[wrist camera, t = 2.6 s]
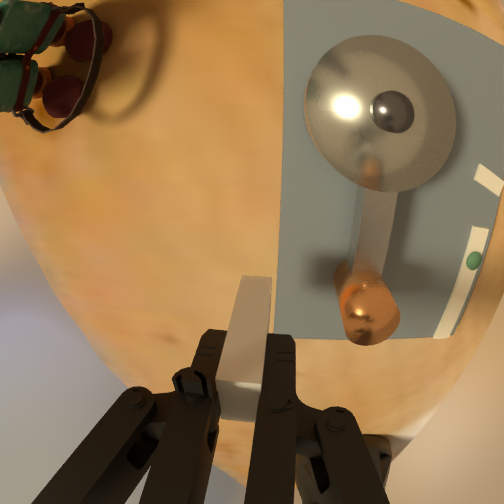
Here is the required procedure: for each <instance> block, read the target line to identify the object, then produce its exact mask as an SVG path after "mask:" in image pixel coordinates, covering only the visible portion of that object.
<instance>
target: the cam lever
mask: <svg viewBox="0 0 504 504" xmlns="http://www.w3.org/2000/svg"><path fill="white" fill-rule="evenodd" d="M303 117H304V122H305V126H306V129H307V132H308V134H309V136H310V139H311V141H312V143H313V144H314V146H315V147H316V149H317V150H318V152H319V153H320V154H321V155H322V157H323V158H324V159H325V160H326V161H327V162H328V163H329V164H330V165H331V166H332V167H333V168H334V169H335V170H337V171H338V172H339V173H340V174H341V175H343V176H344V177H345V178H347V179H348V180H350V181H352V182H353V183H355V184H357V190H356V199H355V207H354V215H353V223H352V230H351V236H350V243H349V249H348V255H347V259H346V260H344V261H343V262H342V263H340V264H339V266H338V267H337V268H336V270H335V272H334V275H333V283H334V288H335V292H336V296H337V300H338V304H339V308H340V312H341V317H342V321H343V326H344V330H345V334H346V336H347V338H348V339H349V340H350V341H351V342H353V343H355V344H358V345H363V346H368V345H374V344H377V343H380V342H382V341H384V340H386V339H387V338H389V337H390V336H391V335H392V334H393V333H394V332H395V331H396V329H397V327H398V325H399V323H400V318H401V317H400V311H399V309H398V307H397V305H396V303H395V301H394V299H393V297H392V295H391V293H390V291H389V289H388V287H387V285H386V283H385V281H384V279H383V277H382V272H383V268H384V263H385V259H386V254H387V250H388V245H389V240H390V235H391V230H392V225H393V219H394V214H395V208H396V201H397V195H398V192H402V191H406V190H410V189H413V188H415V187H418V186H420V185H422V184H423V183H425V182H427V181H428V180H429V179H431V178H432V177H433V176H434V175H435V174H436V173H437V172H438V171H439V170H440V169H441V167H442V166H443V165H444V163H445V162H446V160H447V158H448V156H449V154H450V151H451V149H452V146H453V142H454V138H455V131H456V115H455V107H454V103H453V99H452V96H451V93H450V90H449V88H448V86H447V84H446V82H445V80H444V78H443V77H442V75H441V74H440V72H439V71H438V69H437V68H436V67H435V66H434V65H433V63H432V62H431V61H430V60H429V59H428V58H427V57H426V56H424V55H423V54H422V53H421V52H419V51H418V50H417V49H415V48H414V47H412V46H410V45H409V44H407V43H404V42H402V41H400V40H397V39H394V38H391V37H387V36H381V35H362V36H356V37H352V38H349V39H347V40H344V41H342V42H340V43H338V44H337V45H335V46H334V47H332V48H331V49H330V50H329V51H327V52H326V53H325V54H324V55H323V57H322V58H321V59H320V60H319V62H318V63H317V65H316V66H315V68H314V70H313V72H312V73H311V75H310V77H309V79H308V81H307V84H306V86H305V90H304V95H303Z"/></svg>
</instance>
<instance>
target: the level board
mask: <svg viewBox="0 0 504 504" xmlns="http://www.w3.org/2000/svg"><path fill="white" fill-rule="evenodd" d="M362 35H381V36H387V37H391V38H394V39H397V40H400V41H402V42H404V43H407V44H409V45H410V46H412V47H414V48H415V49H417V50H418V51H419V52H421V53H422V54H423V55H424V56H426V57H427V58H428V59H429V60H430V61H431V62H432V63H433V65H434V66H435V67H436V68H437V69H438V71H439V72H440V74H441V75H442V77H443V78H444V80H445V82H446V84H447V86H448V88H449V90H450V93H451V96H452V99H453V103H454V107H455V115H456V131H455V138H454V142H453V146H452V149H451V151H450V154H449V156H448V158H447V160H446V162H445V163H444V165H443V166H442V167H441V169H440V170H439V171H438V172H437V173H436V174H435V175H434V176H433V177H432V178H431V179H429V180H428V181H427V182H425V183H423V184H422V185H420V186H418V187H415V188H413V189H410V190H406V191H402V192H398V195H397V201H396V208H395V214H394V219H393V225H392V230H391V235H390V240H389V245H388V250H387V254H386V259H385V263H384V268H383V272H382V277H383V279H384V281H385V283H386V285H387V287H388V289H389V291H390V293H391V295H392V297H393V299H394V301H395V303H396V305H397V307H398V309H399V311H400V317H401V318H400V323H399V325H398V327H397V329H396V331H395V332H394V333H393V334H392V335H391V336H390V337H389V338H387V339H405V338H423V337H433V338H434V339H442V338H449V336H450V335H453V334H454V332H455V330H456V328H457V326H458V324H459V322H460V319H461V317H462V315H463V313H464V310H465V308H466V306H467V303H468V301H469V299H470V296H471V294H472V291H473V289H474V286H475V283H476V281H477V278H478V275H479V272H480V270H481V267H482V264H483V261H484V258H485V254H486V251H487V248H488V245H489V241H490V238H491V234H492V230H493V226H494V222H495V218H496V214H497V209H498V205H499V200H500V195H501V191H502V188H503V185H504V181H503V177H504V46H503V45H501V44H499V43H497V42H496V41H494V40H492V39H490V38H488V37H487V36H485V35H483V34H481V33H479V32H477V31H475V30H473V29H471V28H469V27H467V26H465V25H462V24H460V23H458V22H456V21H453V20H451V19H449V18H446V17H444V16H441V15H439V14H436V13H434V12H431V11H428V10H425V9H423V8H420V7H417V6H414V5H410V4H407V3H404V2H400V1H397V0H284V114H283V156H282V186H281V211H280V233H279V253H278V271H277V288H276V304H275V319H274V333H273V334H290V335H291V336H292V338H296V339H329V340H349V339H348V338H347V336H346V334H345V330H344V326H343V321H342V317H341V312H340V308H339V304H338V300H337V296H336V292H335V288H334V283H333V275H334V272H335V270H336V268H337V267H338V266H339V264H340V263H342V262H343V261H344V260H346V259H347V255H348V249H349V243H350V236H351V230H352V223H353V215H354V207H355V199H356V190H357V184H355V183H353V182H352V181H350V180H348V179H347V178H345V177H344V176H343V175H341V174H340V173H339V172H338V171H337V170H335V169H334V168H333V167H332V166H331V165H330V164H329V163H328V162H327V161H326V160H325V159H324V158H323V157H322V155H321V154H320V153H319V152H318V150H317V149H316V147H315V146H314V144H313V143H312V141H311V139H310V136H309V134H308V132H307V129H306V126H305V122H304V117H303V95H304V90H305V86H306V84H307V81H308V79H309V77H310V75H311V73H312V72H313V70H314V68H315V66H316V65H317V63H318V62H319V60H320V59H321V58H322V57H323V55H324V54H325V53H326V52H327V51H329V50H330V49H331V48H332V47H334V46H335V45H337V44H338V43H340V42H342V41H344V40H347V39H349V38H352V37H356V36H362Z"/></svg>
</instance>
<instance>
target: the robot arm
mask: <svg viewBox="0 0 504 504" xmlns="http://www.w3.org/2000/svg"><path fill="white" fill-rule="evenodd" d="M271 286H272V277H259V276H242V278H241V281H240V285H239V289H238V293H237V297H236V301H235V304H234V308H233V312H232V316H231V320H230V324H229V327H228V331H224V330H214V329H208V330H207V331H206V332H205V333H204V334H203V335H202V336H201V339H200V342H199V345H198V348H197V350H196V354H195V356H194V359H193V362H192V365H191V367H187V368H184V369H181V370H179V371H178V372H176V373H175V374H174V376H173V377H172V381H173V384H174V387H175V391H173V392H169V393H159V394H152V393H151V391H149V390H148V389H147V388H144V387H140V386H138V387H131V388H129V389H127V390H126V391H125V392H123V393H122V394H121V396H120V397H119V398H118V399H117V400H116V402H115V403H114V404H113V405H112V406H111V408H110V409H109V410H108V411H107V413H105V415H104V416H103V417H102V418H101V419H100V421H99V422H98V423H97V424H96V425H95V427H94V428H93V429H92V430H91V431H90V433H89V434H88V435H87V437H86V438H85V439H84V440H83V441H82V442H81V444H80V445H79V446H78V447H77V448H76V450H75V451H74V452H73V453H72V454H71V456H70V457H69V458H68V459H67V461H66V462H65V463H64V464H63V465H62V467H61V468H60V469H59V470H58V471H57V473H56V474H55V475H54V476H53V478H52V479H51V480H50V481H49V483H48V484H47V485H46V486H45V487H44V489H43V490H42V491H41V492H40V494H39V495H38V496H37V497H36V499H35V500H34V501H33V502H32V503H31V504H125V502H126V501H127V499H128V498H129V496H130V495H131V494H132V492H133V491H134V489H135V488H136V486H137V485H138V483H139V482H140V480H141V479H142V477H143V476H144V475H145V473H146V472H147V470H148V469H149V467H150V466H151V468H150V470H149V473H148V476H147V480H146V483H145V486H144V489H143V492H142V495H141V498H140V502H139V504H204V500H205V495H206V490H207V485H208V481H209V476H210V472H211V467H212V462H213V457H214V453H215V448H216V443H217V438H218V434H219V425H218V423H219V418H220V415H221V419H226V420H235V421H244V422H255V429H254V437H253V444H252V452H251V459H250V466H249V473H248V480H247V487H246V494H245V501H244V504H293V503H294V486H295V482H296V485H297V488H298V491H299V494H300V496H301V499H302V504H390V503H389V500H388V498H387V495H386V493H385V486H386V482H387V478H388V474H389V469H390V464H391V459H392V451H391V445H390V442H389V441H388V440H387V439H385V438H383V437H378V436H362V433H361V431H360V429H359V426H358V424H357V421H356V419H355V417H354V416H353V414H352V413H351V412H350V411H349V410H347V409H346V408H342V407H339V406H337V407H329V408H327V409H324V410H323V411H322V410H318V409H315V408H312V407H309V406H307V405H305V404H304V403H302V402H301V401H300V400H299V398H298V397H297V394H296V355H295V353H296V345H295V341H294V340H293V338H292V336H291V335H290V334H271V333H269V322H270V305H271Z"/></svg>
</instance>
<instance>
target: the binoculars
mask: <svg viewBox="0 0 504 504" xmlns="http://www.w3.org/2000/svg"><path fill="white" fill-rule="evenodd" d="M81 10H85V11H86V12H87V13H88V15H89V16H90V18H91V19H92V20H87V21H83V22H80V23H79V24H77V25H74V20H73V18H71V17H67V16H66V14H68V15H69V14H75V13H76V12H78V11H81ZM111 40H112V31H111V28H110V27H109V25H108V24H106V23H105V22H103V21H100V19H99V18H98V17H97V15H96V14H95V13H94V11H93V10H90V9H88V8H85V6H84V3H76V4H75V5H72V6H70V7H67V6H62V7H60V6H57V5H54V4H53V3H52V2H49V3H46V2H40V3H37V2H30V1H22V0H3V1H1V2H0V112H8V113H9V112H12V114H13V115H14V116H15V117H20V118H21V119H23V120H24V122H25V123H26V125H30V126H31V127H32V128H33V129H34V130H36V131H38V132H40V133H46V132H50V131H54V130H57V129H61V128H63V127H64V126H66V125H67V124H68V123H69V122H70V121H72V120H73V119H74V118H75V117H77V116H78V115H79V114H80V112H81V110H82V109H83V107H84V105H85V104H86V102H87V100H88V99H89V97H90V95H91V93H92V90H93V87H94V84H95V81H96V79H97V76H98V72H99V68H100V65H101V61H102V55H103V54H104V53H105V52H106V51H107V50H108V48H109V46H110V44H111ZM63 44H65V47H66V50H67V52H68V54H69V55H70V57H71V58H72V59H74V60H76V61H79V62H83V61H90V60H92V61H91V65H90V69H89V73H88V76H87V79H86V82H85V85H84V83H83V82H82V80H80V79H79V78H76V77H71V76H61V77H57V78H55V79H53V80H52V78H51V73H50V71H49V69H48V68H46V67H38V63H37V62H36V61H35V60H31V57H32V56H33V54H40V53H42V52H43V51H44V50H46V49H47V47H48V46H53V47H59V46H61V45H63ZM6 53H8V55H6ZM16 54H25V55H16ZM51 80H52V81H51ZM41 97H43V98H42V100H43V105H44V108H45V110H46V111H47V113H48V114H49V115H50V116H52V117H54V118H65V119H64V120H63V121H62V122H61V123H60V124H59V125H57V126H56V127H55V128H54V129H49V128H47V127H45V126H43V125H42V124H41V123H40V122H39V121H38V120H37V119H36V118H35V117H34V115H33V113H34V110H33V109H31V108H29V107H28V105H29V104H30V102H31V100H32V99H37V98H41ZM23 109H26V110H24V111H22V110H23ZM18 111H20V112H19V113H18V114H16V112H18Z"/></svg>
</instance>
